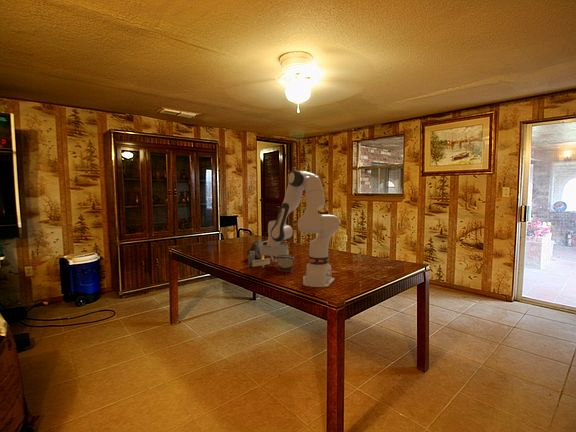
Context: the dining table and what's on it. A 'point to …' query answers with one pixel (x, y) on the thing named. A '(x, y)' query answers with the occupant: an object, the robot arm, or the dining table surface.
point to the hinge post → (249, 261)
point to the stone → (256, 249)
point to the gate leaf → (260, 262)
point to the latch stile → (252, 255)
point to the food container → (285, 262)
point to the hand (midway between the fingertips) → (274, 261)
